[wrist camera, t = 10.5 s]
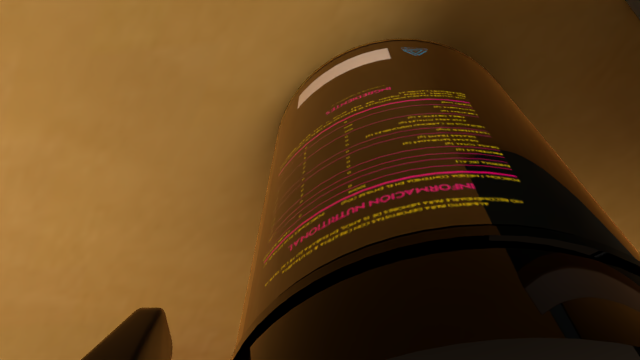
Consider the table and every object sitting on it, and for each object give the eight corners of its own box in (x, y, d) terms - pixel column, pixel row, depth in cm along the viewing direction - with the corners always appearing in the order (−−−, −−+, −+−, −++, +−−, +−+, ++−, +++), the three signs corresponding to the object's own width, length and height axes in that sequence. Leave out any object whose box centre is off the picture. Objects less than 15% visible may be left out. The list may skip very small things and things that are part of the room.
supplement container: (361, 272, 17) (396, 690, 8) (227, 123, 15) (70, 502, 6) (549, 168, 15) (862, 576, 6) (432, -27, 13) (688, 200, 4)
